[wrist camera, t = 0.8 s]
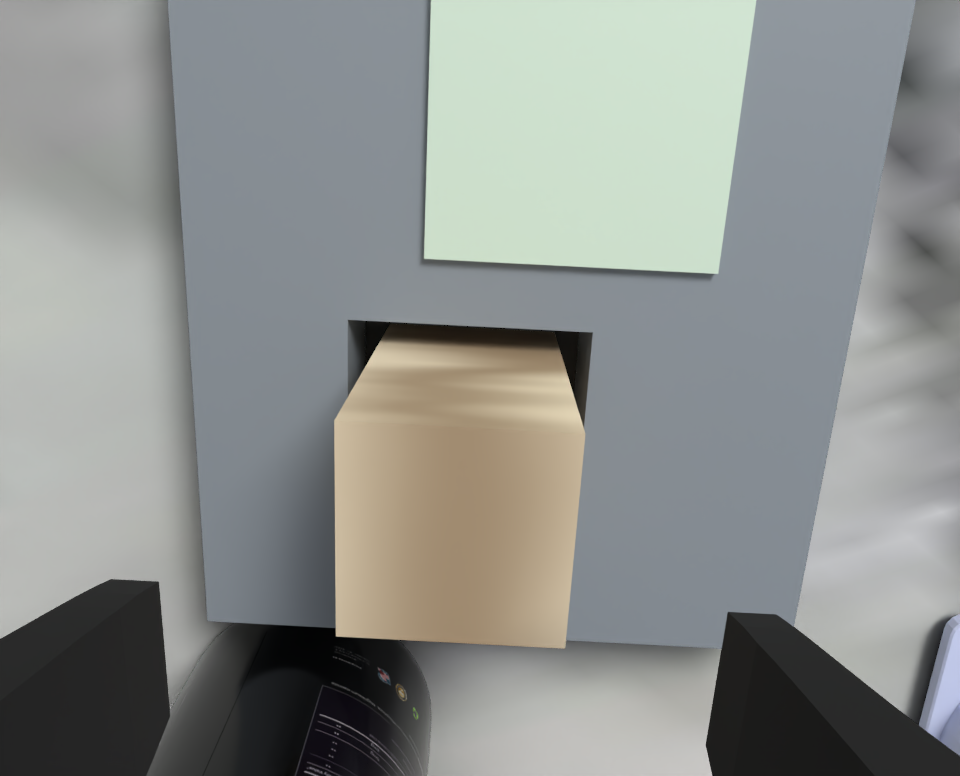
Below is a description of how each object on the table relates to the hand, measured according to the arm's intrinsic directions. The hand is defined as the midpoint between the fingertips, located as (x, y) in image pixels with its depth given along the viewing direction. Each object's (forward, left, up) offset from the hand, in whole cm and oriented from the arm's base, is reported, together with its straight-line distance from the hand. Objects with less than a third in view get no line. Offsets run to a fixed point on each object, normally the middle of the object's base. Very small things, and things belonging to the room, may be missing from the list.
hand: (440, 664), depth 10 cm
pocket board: (-1, -3, -10) cm, 11 cm away
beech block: (0, 0, -10) cm, 10 cm away
